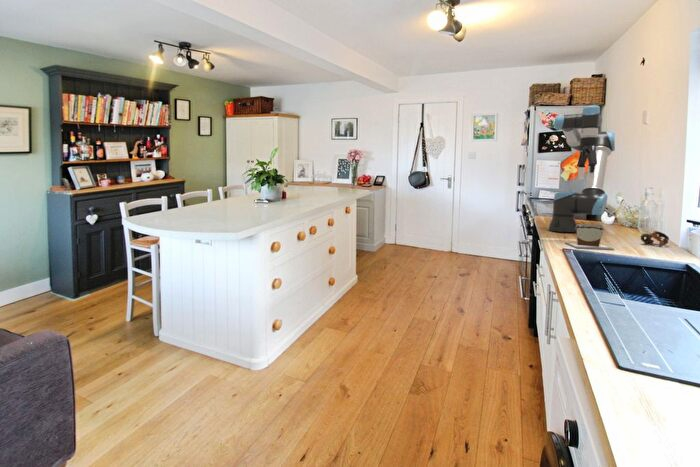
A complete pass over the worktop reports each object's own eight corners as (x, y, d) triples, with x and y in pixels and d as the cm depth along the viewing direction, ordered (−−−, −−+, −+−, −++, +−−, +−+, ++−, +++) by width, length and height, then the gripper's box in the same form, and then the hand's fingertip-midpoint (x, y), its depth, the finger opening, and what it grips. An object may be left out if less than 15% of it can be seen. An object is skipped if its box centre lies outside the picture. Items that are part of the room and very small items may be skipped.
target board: (564, 243, 220) (564, 242, 220) (598, 244, 217) (598, 243, 217) (577, 248, 202) (577, 247, 202) (613, 250, 199) (614, 248, 199)
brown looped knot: (656, 244, 223) (665, 232, 218) (664, 255, 215) (674, 242, 210) (633, 239, 223) (642, 226, 218) (640, 249, 215) (650, 236, 211)
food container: (604, 245, 208) (605, 225, 207) (602, 247, 203) (604, 226, 202) (575, 243, 215) (577, 223, 214) (573, 244, 210) (575, 224, 209)
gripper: (572, 139, 230) (569, 179, 232) (590, 134, 205) (586, 179, 208) (587, 139, 228) (584, 180, 231) (607, 134, 204) (603, 179, 206)
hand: (585, 179), depth 219 cm, fingers open, 13 cm apart
